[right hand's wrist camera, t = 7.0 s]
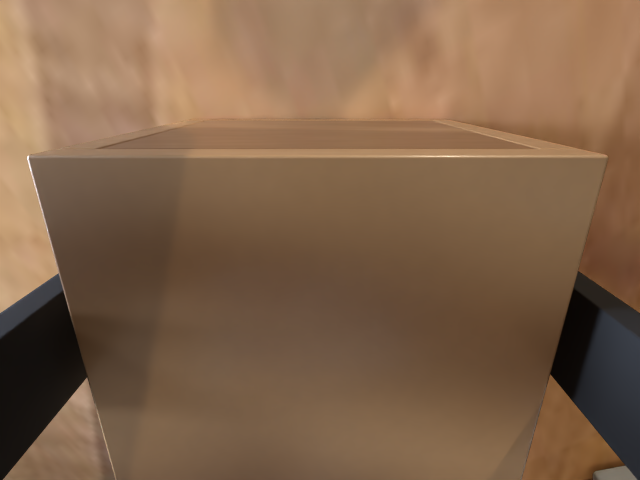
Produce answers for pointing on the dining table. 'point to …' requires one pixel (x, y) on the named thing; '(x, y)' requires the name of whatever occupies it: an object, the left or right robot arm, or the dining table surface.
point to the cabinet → (318, 293)
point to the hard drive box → (614, 474)
